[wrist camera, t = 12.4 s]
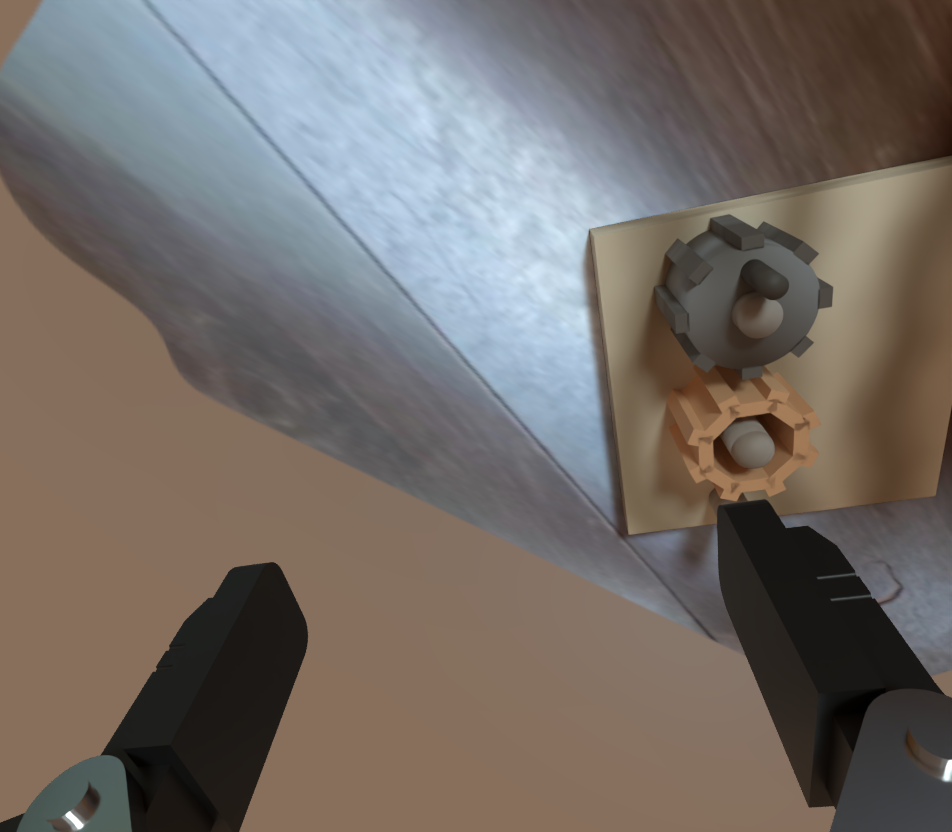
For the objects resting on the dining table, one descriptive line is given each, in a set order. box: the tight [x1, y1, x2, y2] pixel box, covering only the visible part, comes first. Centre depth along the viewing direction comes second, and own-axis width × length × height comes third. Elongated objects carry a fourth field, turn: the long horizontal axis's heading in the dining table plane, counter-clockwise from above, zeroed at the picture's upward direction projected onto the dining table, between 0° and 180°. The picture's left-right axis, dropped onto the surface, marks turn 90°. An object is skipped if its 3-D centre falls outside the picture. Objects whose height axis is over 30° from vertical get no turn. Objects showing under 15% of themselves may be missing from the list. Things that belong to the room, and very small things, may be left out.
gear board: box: [589, 155, 952, 535], centre depth 30 cm, size 18×19×9 cm
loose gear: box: [667, 365, 821, 501], centre depth 31 cm, size 6×6×4 cm
